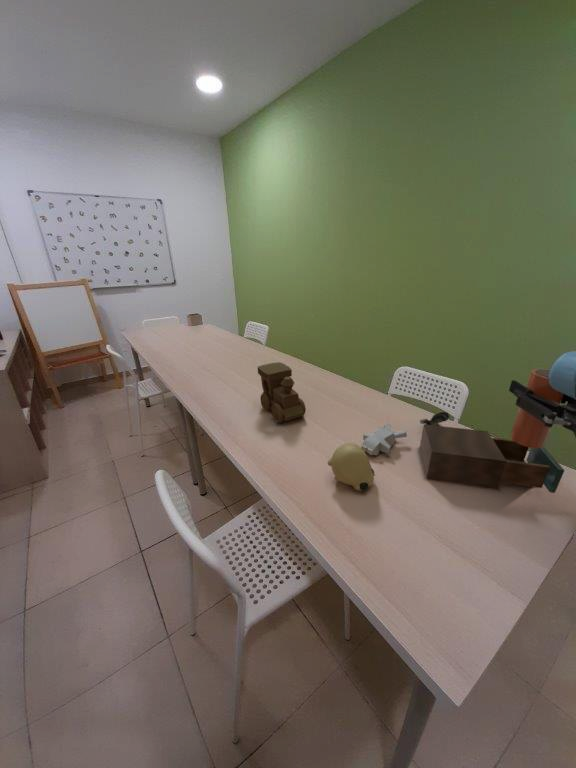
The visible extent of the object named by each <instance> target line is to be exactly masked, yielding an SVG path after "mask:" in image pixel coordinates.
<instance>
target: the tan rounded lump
mask: <svg viewBox="0 0 576 768" xmlns="http://www.w3.org/2000/svg"><path fill="white" fill-rule="evenodd" d="M327 466H329V467H331V470H332V473H333V475H334V480H335V482H341V483H343V484H345V485H348V486H352V488H353V489H354V490H355V491H359V492H360V491H361V492H365V491H367V490H368V489H369V488H370V487H371V486H372V484H373V482H374V480H375V479H374V478H375V475H376V474H375V470H374V469H373V468H372V464H371V462H370V460H369V457H368V455H367V454H366V452H365V451H363V450H362V448H361V446H359V445H358V444H357V443H355V442H349V443H345V444H341V445H340V446H338V447H337V448H336V449H335V450H334V452H333V454H332V456H331V458H330V459H328V461H327Z"/></svg>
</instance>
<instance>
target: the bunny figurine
mask: <svg viewBox="0 0 576 768" xmlns="http://www.w3.org/2000/svg"><path fill="white" fill-rule="evenodd" d="M392 427H393V424H391V423H390V422H389V423H388V422H387V423H385V424H384V426H383V427H382V426H380V427H378V428H376V429H375V430H374V433H368V432H364V433H363V435H362V440H363V443H362V444H361V446H360V447H361V448H362V450H363V451H364V452H365V453H367V454H369V455H370V456H378V455H379V454H380V452H381V453H385V454H390V453H391V448H392V446H393V445H394V443H395V441H396V439H401V438H406V437H407V436H408V434H407V431H406V430H404V429H399V430H396V431H392V430H391V429H392Z"/></svg>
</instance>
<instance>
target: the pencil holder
mask: <svg viewBox="0 0 576 768" xmlns="http://www.w3.org/2000/svg"><path fill="white" fill-rule="evenodd" d="M550 370H551V369H547V368H534V369H531V370H530V374H529V376H528V380H527V383H526V386H525V387H527V388H528V389H530V390H532V391H533V394H534V395H536V396H538V397H541V398H543V399H546V400H548V401H550V402H553V403H555V404H558V405H562V404H561V401H562V399H563V396H564V394H563V393H561V392H559V391H556V390H555V389H553V388H552V387H551V385H550V383H549V381H550V380H549V373H550ZM551 430H552V427H547V426H545V425H544V424H543V423H542V422H541V421H540V420H539V419H537V418H535V417H534V416H532V415H531V414H529V413H528V412H526V411H525V410H523V409H522V408H520V407H518V410H517V414H516V416H515V419H514V423H513V425H512V429H511V431H510V440H513V441H515V442H516V443H518V444H521V445H523V446H526V447H529V448H530V449H531V448H542V447H545V445H546V443H547V441H548V438H549V435H550V432H551Z"/></svg>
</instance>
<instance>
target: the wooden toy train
mask: <svg viewBox="0 0 576 768" xmlns="http://www.w3.org/2000/svg"><path fill="white" fill-rule="evenodd" d="M292 371H293V369H292V368H290V366H288V365H286V364H285V363H283V362H280V361H279V362H271V363H270V362H269V363H266V364H265V363H264V364H262V365H259V366H257V374H258V375H259V376H260V380H261V387H262V393H261V395H260V404H261V407H262V409H263V410H264V411H266V412H267V411H270V410H272V411H271V413H272V417H273V419H274V420H275V422H277V423H278V424H279V423H281V424H282V422H284V421H285V422H288V421H290V420H294V419H296V418H297V419H298V418H300V417H304V416H305V414H306V411H307V410H306V409H307V408H306V405H305V402H304V400H303V399H302V398H301V397H300V396H299V393H298V392H297V391H296V390H295V389H293V388H294V385H295V381H294V379H293V378H292V377H293V373H292Z"/></svg>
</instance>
